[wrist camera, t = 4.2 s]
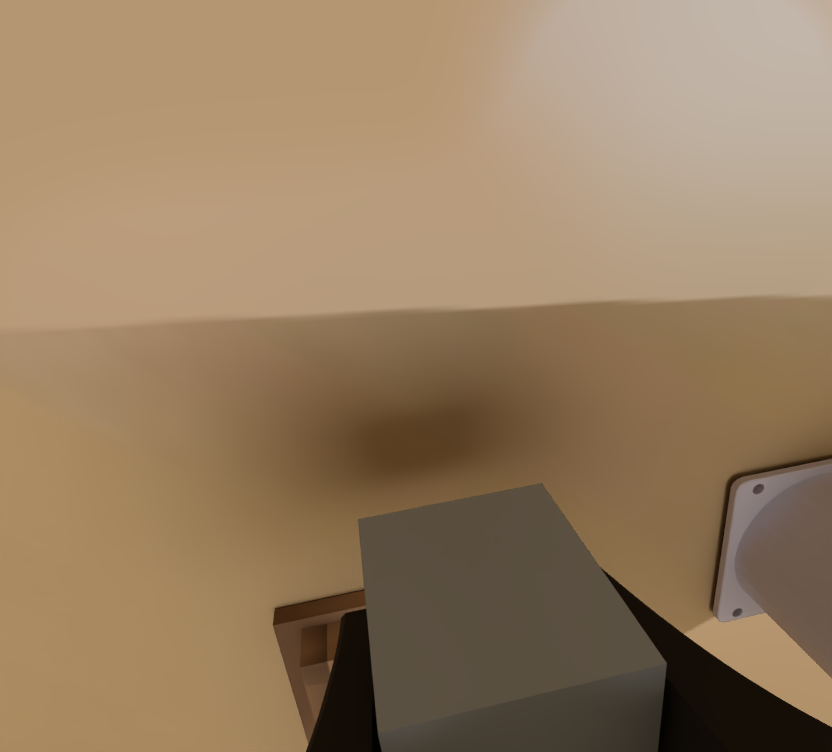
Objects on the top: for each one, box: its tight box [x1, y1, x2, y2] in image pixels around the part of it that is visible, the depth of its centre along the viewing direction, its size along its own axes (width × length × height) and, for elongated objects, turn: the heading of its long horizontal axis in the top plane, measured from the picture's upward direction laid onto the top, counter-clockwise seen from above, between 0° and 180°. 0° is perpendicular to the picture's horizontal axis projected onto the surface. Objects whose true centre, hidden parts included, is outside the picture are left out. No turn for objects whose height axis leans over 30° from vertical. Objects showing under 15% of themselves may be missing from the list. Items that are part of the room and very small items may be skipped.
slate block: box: [358, 483, 667, 752], centre depth 11 cm, size 4×4×5 cm
